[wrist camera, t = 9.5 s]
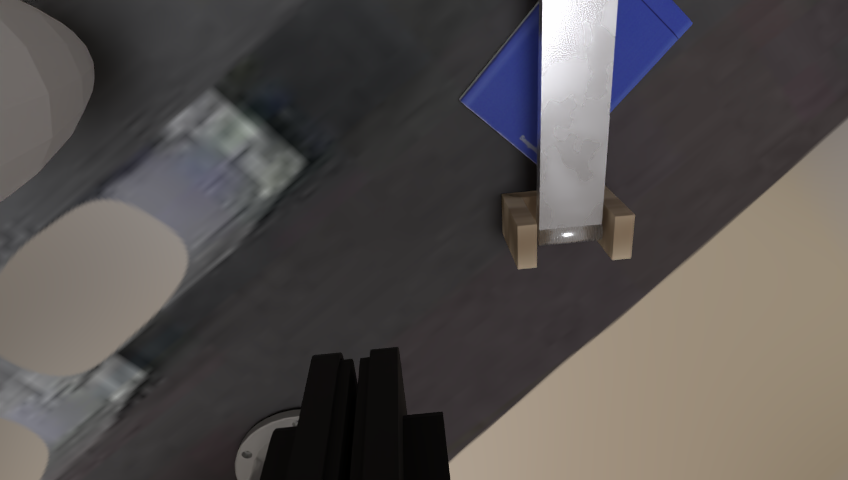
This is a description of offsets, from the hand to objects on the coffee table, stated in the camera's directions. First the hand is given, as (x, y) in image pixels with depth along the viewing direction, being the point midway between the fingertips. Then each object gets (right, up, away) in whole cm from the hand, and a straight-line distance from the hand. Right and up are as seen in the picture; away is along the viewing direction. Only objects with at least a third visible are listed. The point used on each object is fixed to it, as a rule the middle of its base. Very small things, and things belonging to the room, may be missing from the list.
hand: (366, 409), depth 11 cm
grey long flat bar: (+10, +12, +21) cm, 26 cm away
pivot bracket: (+10, +6, +28) cm, 30 cm away
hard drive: (+10, +15, +24) cm, 30 cm away
